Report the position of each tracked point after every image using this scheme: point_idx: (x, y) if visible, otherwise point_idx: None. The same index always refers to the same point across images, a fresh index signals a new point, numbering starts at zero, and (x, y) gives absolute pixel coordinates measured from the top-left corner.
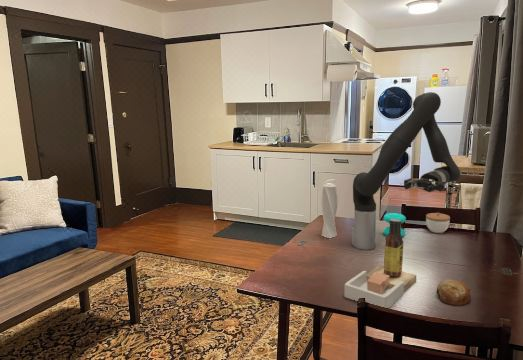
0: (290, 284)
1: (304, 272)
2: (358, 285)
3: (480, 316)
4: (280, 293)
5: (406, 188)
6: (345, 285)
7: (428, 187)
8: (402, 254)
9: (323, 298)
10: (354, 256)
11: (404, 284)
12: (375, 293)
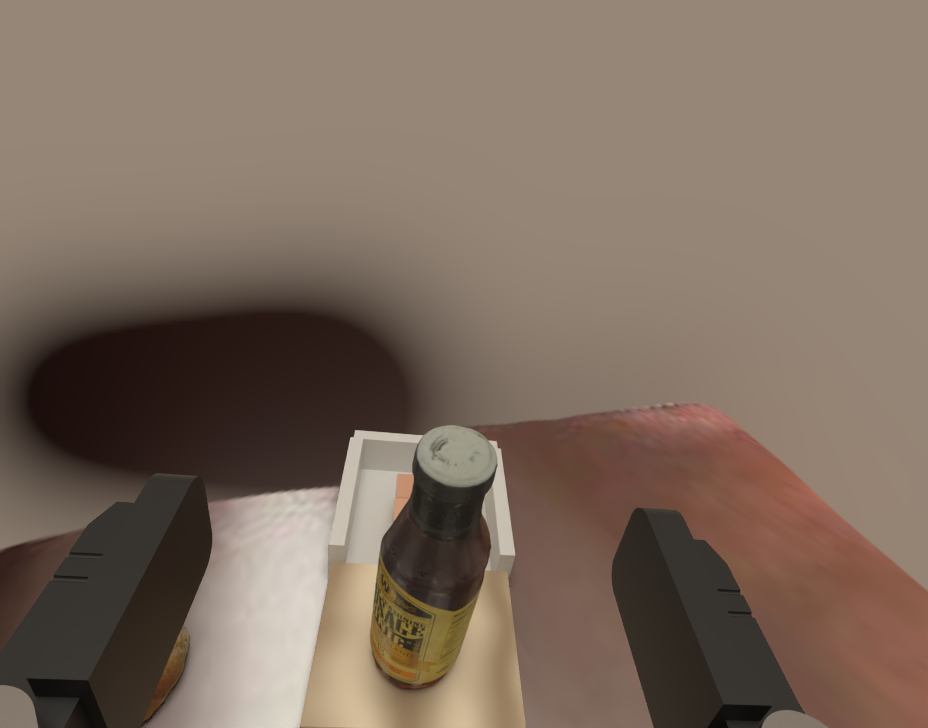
0: (658, 461)
1: (715, 542)
2: (488, 522)
3: (13, 581)
4: (627, 420)
5: (617, 561)
6: (492, 442)
7: (196, 480)
8: (375, 587)
9: (529, 445)
10: None
11: (331, 587)
12: (388, 437)
